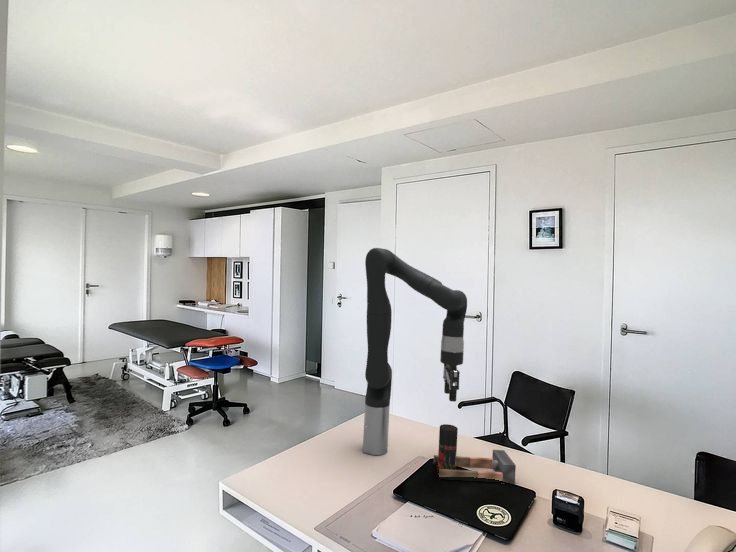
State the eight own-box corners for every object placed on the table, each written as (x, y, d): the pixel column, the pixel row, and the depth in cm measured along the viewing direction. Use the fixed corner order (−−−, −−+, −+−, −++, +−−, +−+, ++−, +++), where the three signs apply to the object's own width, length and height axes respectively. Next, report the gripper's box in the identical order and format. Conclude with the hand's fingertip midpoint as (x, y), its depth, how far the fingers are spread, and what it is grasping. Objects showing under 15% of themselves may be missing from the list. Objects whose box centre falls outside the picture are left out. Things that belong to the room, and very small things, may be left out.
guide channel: (438, 479, 128) (439, 461, 128) (433, 463, 139) (434, 446, 139) (514, 484, 128) (515, 465, 128) (503, 467, 139) (504, 450, 139)
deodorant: (457, 476, 130) (459, 431, 130) (439, 475, 131) (441, 430, 131) (453, 468, 136) (455, 424, 136) (436, 467, 136) (438, 423, 137)
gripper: (437, 345, 141) (435, 390, 141) (444, 352, 127) (442, 403, 126) (458, 346, 141) (456, 391, 141) (468, 353, 126) (466, 404, 126)
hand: (450, 397), depth 134 cm, fingers open, 8 cm apart
